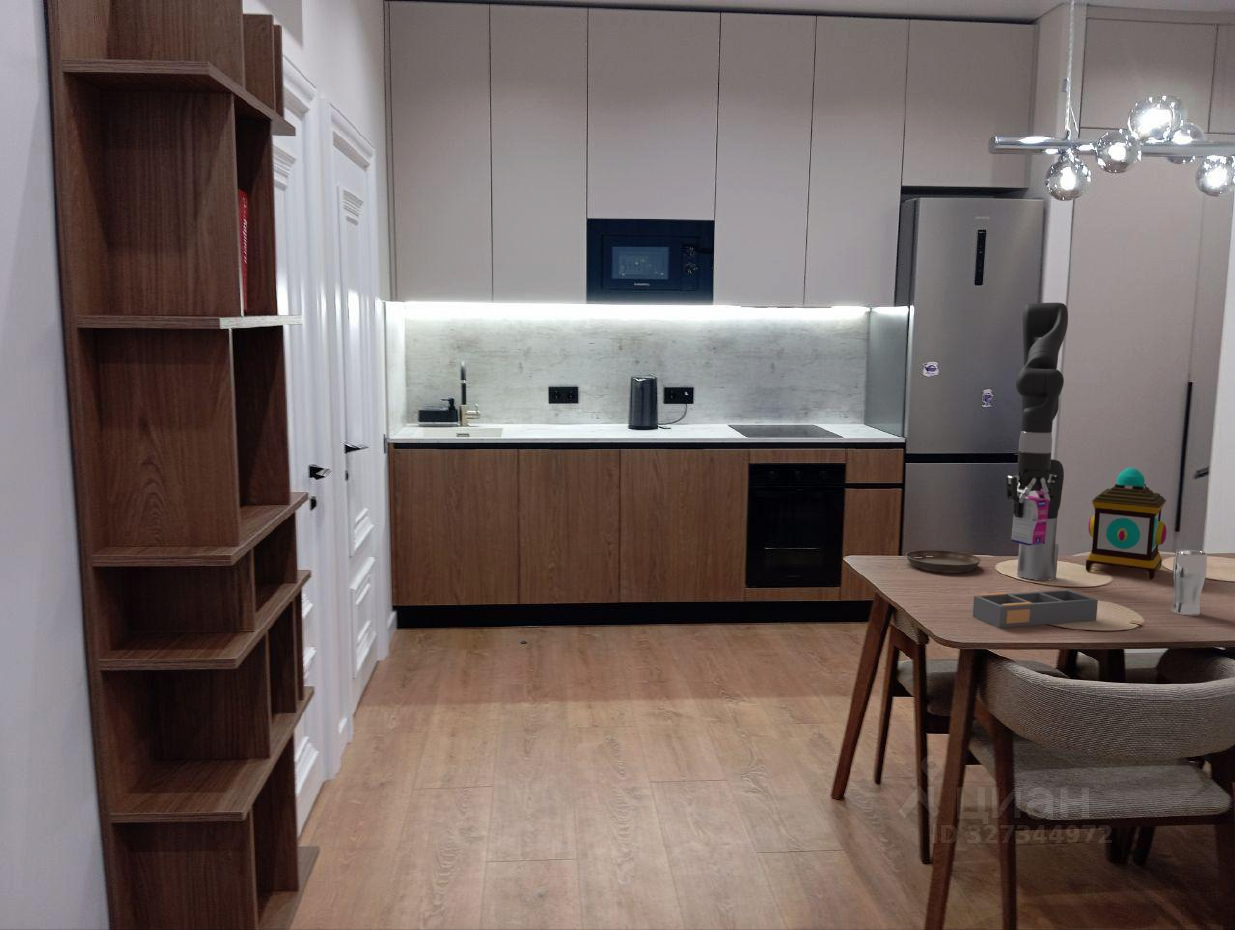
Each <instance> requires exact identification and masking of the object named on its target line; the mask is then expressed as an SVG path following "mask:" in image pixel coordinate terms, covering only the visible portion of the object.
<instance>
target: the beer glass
mask: <svg viewBox="0 0 1235 930" xmlns="http://www.w3.org/2000/svg"><path fill="white" fill-rule="evenodd" d="M1207 555H1208V553H1207V552H1205V551H1201V550H1194V549H1187V548H1185V549H1176V550H1175V554H1174V559H1173V566H1172V567H1173V568H1172V577H1173V579H1172V580H1173V589H1174V590H1173V591H1174V599H1173V603H1172V606H1171V612H1172V613H1173V614H1177V615H1181V616H1188V617H1198V616H1200V615H1201V608H1200V607H1201V606H1200V600H1201V595H1202V591H1203V587H1204V584H1205V580H1206V576H1207V568H1208V562H1207V561H1208V560H1207V559H1208V556H1207Z"/></svg>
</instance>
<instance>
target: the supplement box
mask: <svg viewBox="0 0 1235 930" xmlns="http://www.w3.org/2000/svg"><path fill="white" fill-rule="evenodd" d="M1022 503H1024V506H1023V517H1022V518H1018V517H1015V515H1014V514H1013V518H1012V527H1011V528H1012V529H1011V537H1010V538H1011V541H1010V542H1011V543H1015V544H1019V543H1020V544H1024V545H1028V546H1030V545H1038V544H1045V536H1046V526H1047V516H1048V506H1049V500H1048V499H1043V498H1039V496H1033V495H1027V496H1026V497H1025V499H1024V501H1023V502H1022Z"/></svg>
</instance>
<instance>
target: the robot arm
mask: <svg viewBox="0 0 1235 930" xmlns="http://www.w3.org/2000/svg"><path fill="white" fill-rule="evenodd" d="M1068 325H1069V311H1068V307H1067V305H1066V304H1065V303H1063V302H1033V303H1027V304H1026V305H1025V306H1024V308H1023V312H1022V344H1023V346H1022V348H1023V352H1022V353H1023V367H1022V369H1020V371H1019V372H1018V375H1017V378H1016V382H1015V388H1016V391H1017V393H1019V395H1020V396H1021V426H1020V435H1019V441H1018V451H1017V452H1018V455H1017V473H1016V474H1017V475H1007V476H1006V480H1005V481H1006V498H1007V500H1010V501H1012V502H1013V512H1012V513H1013V516H1014V515H1015V517H1018V518H1022V517H1023V506H1024V503H1022V502H1023V501H1024V499H1025V497H1026V496H1029V494H1030V492H1035V493H1036V494H1037V495H1038V496H1037V497H1038V498H1043V499H1048V500H1049V506H1048V516H1047V526H1046V536H1045V544H1038V545H1030V546H1028V545H1024V544H1020V543H1018V544H1019V545H1018V558H1017V573H1016V575H1018V576H1017V577H1019V578H1022V577H1024V578H1023V579H1025V578H1029V579H1028V580H1030V579H1037V580H1036V581H1050V580H1049V579H1052V578H1053V579H1057V572H1058V570H1057V569H1058V558H1059V557H1058V556H1059V544H1058V543H1057V528H1058V517H1059V516H1058V515H1059V511H1060V508H1061V501H1062V493H1063V487H1064V486H1063V485H1064V478H1065V477H1064V476H1065V470H1064V466H1063V464H1062V462H1061V461H1060V460H1057V459H1054V458H1053V459H1052V450H1053V423H1054V420H1055V418H1056V416H1057V414H1058V413H1059V412H1058V411H1059V405H1060V404H1059V402H1060V395H1061V393H1062V390H1063V387H1064V383H1065V380H1064V379H1065V378H1064V375H1063V373H1062V372H1061V370H1059V369H1058V362H1059V360H1058V359H1059V354H1060V350H1061V347H1062V345H1063V342H1064V339H1065V336H1066V333H1067V331H1068ZM1038 338H1039V339H1038ZM1036 339H1037V340H1036ZM1053 579H1052V580H1053Z"/></svg>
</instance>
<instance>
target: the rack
mask: <svg viewBox="0 0 1235 930" xmlns="http://www.w3.org/2000/svg"><path fill="white" fill-rule="evenodd" d="M1098 603H1099V599H1097V598H1094V597H1091V596H1087V595H1085V594H1083V593H1079V592H1076V591H1074V590H1070V589H1059V590H1057V589H1056V590H1044V591H1043V590H1042V591H1041V590H1040V591H1028V592H1027V591H1026V592H1014V593H1013V592H1012V593H1007V592H993V593H980V594H977V595H973V606H972V617H973V618H976V619H977V620H980V621H982V622H984V623H986V624H989V625H991V626H993V627H996V628H998V629H1004V628H1017V627H1019V628H1020V627H1029V626H1042V625H1044V626H1045V625H1058V624H1068V623H1069V624H1071V623H1083V622H1093V621H1094V622H1095V621H1097V615H1098Z"/></svg>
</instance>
